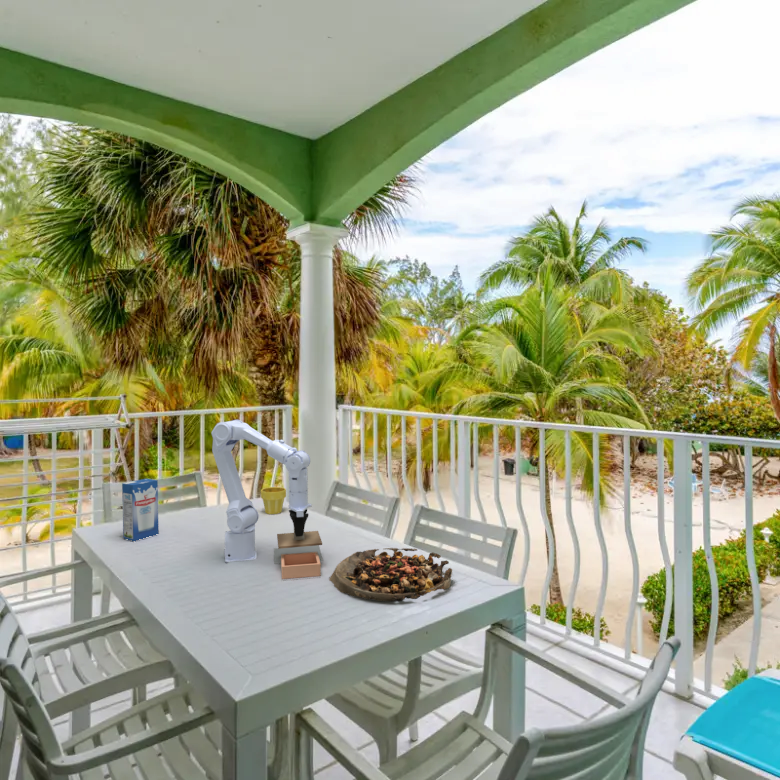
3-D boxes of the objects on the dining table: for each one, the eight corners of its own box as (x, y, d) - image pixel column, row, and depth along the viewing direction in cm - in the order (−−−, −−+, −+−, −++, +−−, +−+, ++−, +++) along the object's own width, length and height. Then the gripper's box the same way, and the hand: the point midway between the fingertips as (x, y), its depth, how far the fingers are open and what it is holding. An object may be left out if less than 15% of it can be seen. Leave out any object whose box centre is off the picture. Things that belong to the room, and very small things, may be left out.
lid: (278, 548, 165) (278, 531, 164) (277, 535, 177) (276, 520, 177) (322, 544, 168) (321, 528, 167) (317, 532, 180) (317, 517, 180)
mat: (274, 565, 171) (274, 563, 171) (273, 549, 185) (273, 548, 185) (323, 561, 174) (323, 560, 174) (318, 546, 188) (318, 545, 188)
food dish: (469, 576, 165) (470, 550, 164) (417, 622, 136) (418, 591, 136) (370, 552, 183) (370, 529, 182) (305, 589, 154) (305, 561, 154)
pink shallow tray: (281, 580, 158) (281, 566, 158) (281, 567, 169) (280, 554, 169) (320, 577, 161) (320, 563, 161) (317, 564, 171) (317, 551, 171)
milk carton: (133, 541, 194) (132, 485, 193) (123, 539, 198) (121, 483, 197) (158, 534, 203) (157, 480, 202) (148, 532, 206) (147, 478, 205)
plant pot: (290, 513, 232) (289, 490, 232) (266, 516, 227) (265, 493, 226) (280, 508, 241) (280, 485, 240) (257, 511, 235) (257, 488, 235)
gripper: (313, 495, 166) (314, 540, 166) (309, 485, 180) (309, 526, 180) (289, 496, 164) (290, 542, 165) (287, 486, 178) (287, 528, 179)
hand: (298, 534), depth 172 cm, fingers closed on lid, 3 cm apart
